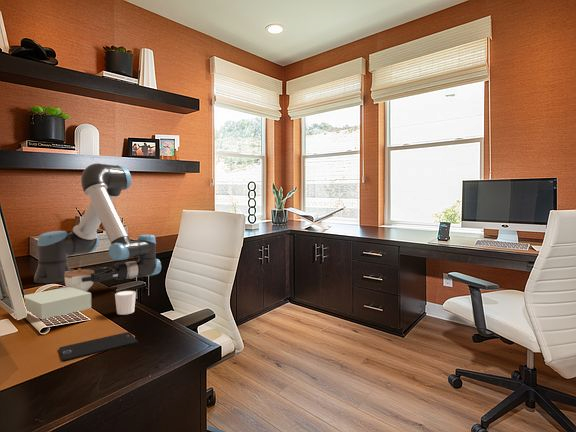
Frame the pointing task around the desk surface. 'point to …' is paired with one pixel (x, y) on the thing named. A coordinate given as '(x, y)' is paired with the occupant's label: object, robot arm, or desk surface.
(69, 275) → the lidded jar
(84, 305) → the sage box
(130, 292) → the white tapered cup
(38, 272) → the robot arm
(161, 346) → the desk surface
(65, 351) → the cell phone
